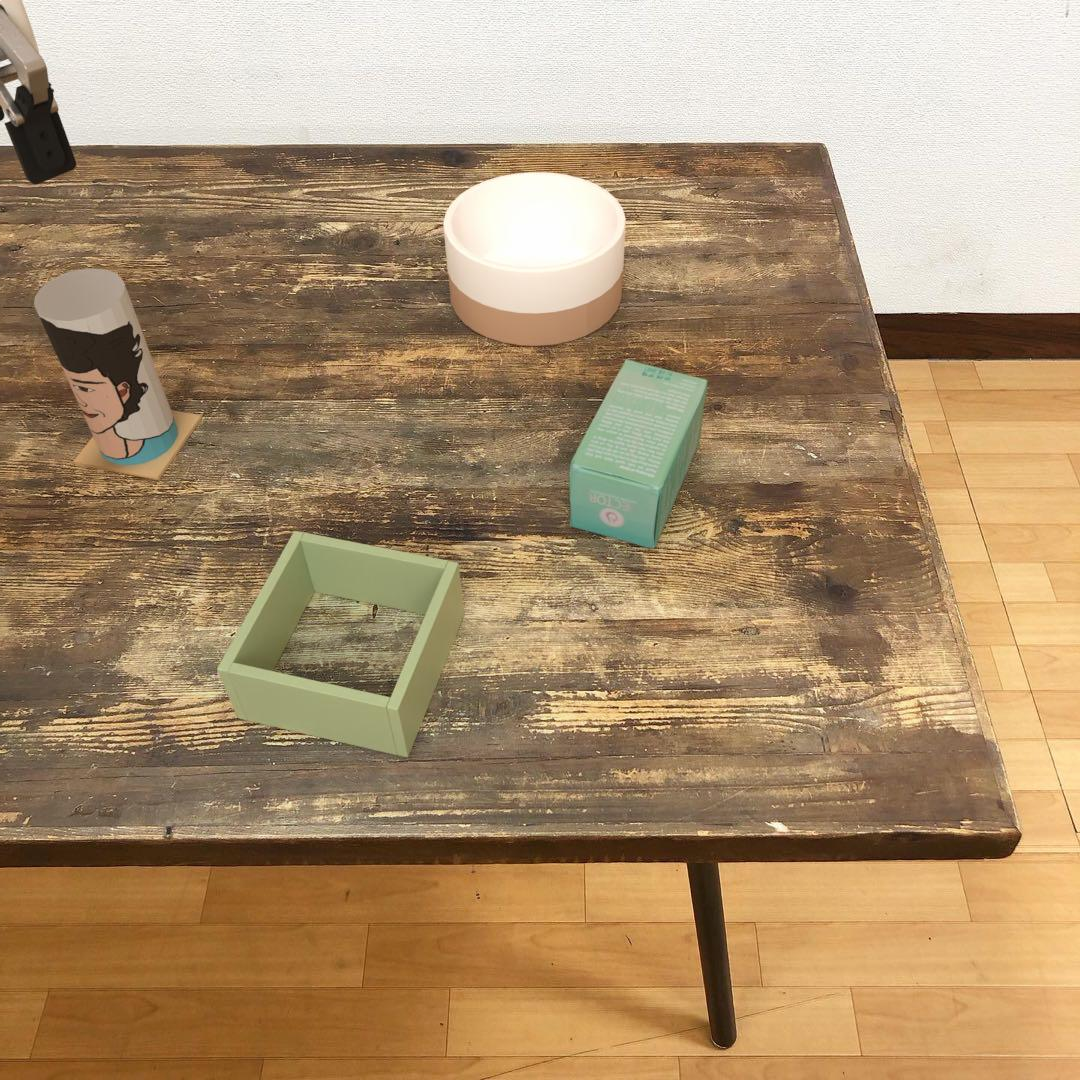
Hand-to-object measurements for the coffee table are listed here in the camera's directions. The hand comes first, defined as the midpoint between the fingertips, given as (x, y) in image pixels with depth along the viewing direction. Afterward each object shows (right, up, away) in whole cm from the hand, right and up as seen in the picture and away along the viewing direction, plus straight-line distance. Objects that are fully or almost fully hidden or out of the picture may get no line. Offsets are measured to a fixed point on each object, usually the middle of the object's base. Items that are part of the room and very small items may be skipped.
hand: (16, 149), depth 71 cm
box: (+43, -22, +18) cm, 51 cm away
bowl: (+34, -1, +36) cm, 50 cm away
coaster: (0, -17, +22) cm, 28 cm away
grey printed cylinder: (0, -17, +22) cm, 28 cm away
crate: (+21, -35, +6) cm, 41 cm away
